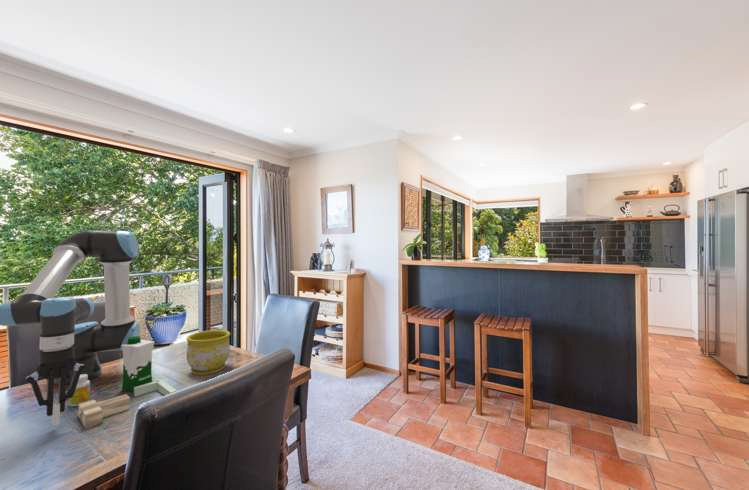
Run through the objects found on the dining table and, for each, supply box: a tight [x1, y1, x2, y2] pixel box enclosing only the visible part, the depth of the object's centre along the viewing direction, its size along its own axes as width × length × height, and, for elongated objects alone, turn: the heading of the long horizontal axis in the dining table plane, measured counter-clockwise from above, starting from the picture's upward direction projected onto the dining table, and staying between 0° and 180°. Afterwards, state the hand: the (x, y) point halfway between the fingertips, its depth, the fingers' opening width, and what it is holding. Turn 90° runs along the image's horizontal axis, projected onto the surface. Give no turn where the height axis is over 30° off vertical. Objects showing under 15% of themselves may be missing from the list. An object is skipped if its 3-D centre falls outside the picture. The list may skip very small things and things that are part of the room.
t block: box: [77, 393, 131, 429], centre depth 103 cm, size 12×12×4 cm
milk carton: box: [121, 335, 155, 392], centre depth 124 cm, size 9×9×20 cm
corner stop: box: [133, 379, 177, 397], centre depth 116 cm, size 16×9×3 cm, turn 53°
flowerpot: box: [186, 329, 231, 376], centre depth 142 cm, size 18×18×16 cm
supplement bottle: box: [68, 374, 91, 407], centre depth 111 cm, size 5×5×10 cm
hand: (55, 423), depth 94 cm, fingers closed
